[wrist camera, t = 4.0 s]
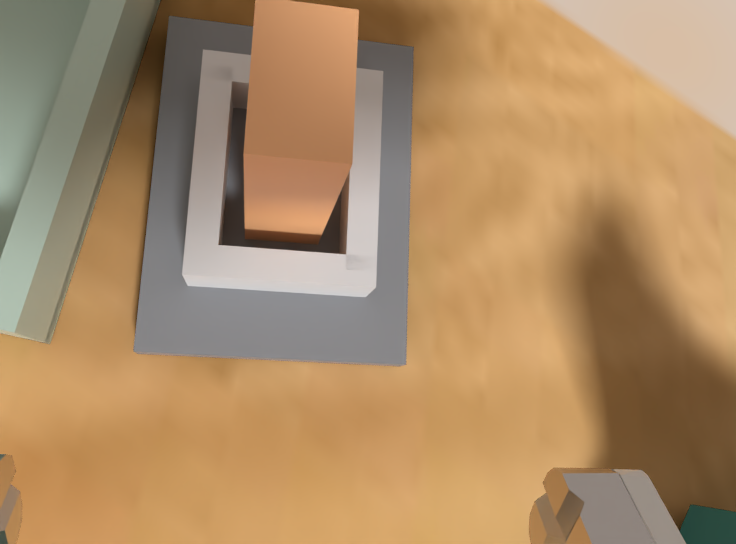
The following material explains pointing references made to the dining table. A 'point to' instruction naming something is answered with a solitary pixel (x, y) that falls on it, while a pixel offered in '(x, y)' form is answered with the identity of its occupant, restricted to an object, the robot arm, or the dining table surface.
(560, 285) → the dining table surface
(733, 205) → the dining table surface
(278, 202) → the orange rectangular block
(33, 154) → the tray
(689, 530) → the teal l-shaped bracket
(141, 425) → the dining table surface
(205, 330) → the grey socket base plate
